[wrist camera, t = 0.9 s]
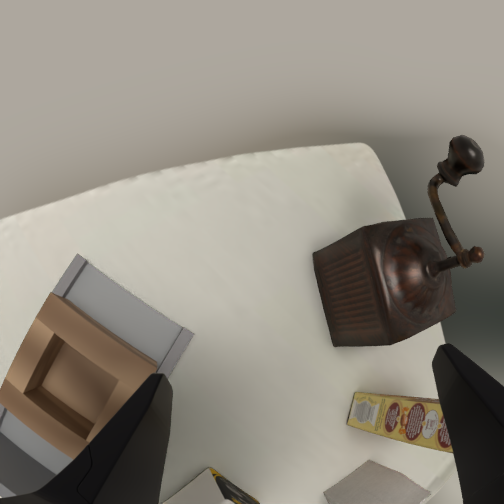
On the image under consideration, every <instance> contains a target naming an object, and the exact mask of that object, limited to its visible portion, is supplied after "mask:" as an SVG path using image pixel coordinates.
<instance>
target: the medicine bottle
mask: <svg viewBox="0 0 504 504" xmlns="http://www.w3.org/2000/svg"><path fill="white" fill-rule="evenodd" d="M162 504H260V503H259V502H258V501H257V500H256V499H254V498H253V497H251V496H250V495H248V494H247V493H245V492H244V491H242V490H241V489H239V488H238V487H237V486H235V485H234V484H232V483H231V482H230V481H228V480H227V479H226V478H224V477H223V476H221V475H220V474H219V473H218V472H216V471H215V470H214V469H212V468H207V469H206V470H205V471H204V472H202V473H201V474H200V475H199V476H198V477H196V478H195V479H194V480H193V481H191V482H190V483H189V484H188V485H186V486H185V487H184V488H182V489H181V490H180V491H178V492H177V493H176V494H175V495H173V496H172V497H171V498H169V499H168V500H166V501H165V502H164V503H162Z"/></svg>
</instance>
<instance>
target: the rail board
mask: <svg viewBox="0 0 504 504" xmlns="http://www.w3.org/2000/svg"><path fill="white" fill-rule="evenodd" d="M52 293H54V294H56V295H59V296H61V297H63V298H66V299H68V300H70V301H71V302H72V303H73V304H75V305H76V306H77V307H79V308H80V309H81V310H82V311H84V312H85V313H86V314H88V315H89V316H90V317H92V318H93V319H94V320H96V321H97V322H99V323H100V324H101V325H103V326H104V327H105V328H107V329H108V330H110V331H111V332H113V333H114V334H115V335H117V336H118V337H120V338H121V339H123V340H124V341H126V342H127V343H129V344H130V345H132V346H133V347H135V348H136V349H138V350H139V351H141V352H142V353H144V354H146V355H147V356H149V357H150V358H152V359H154V360H155V361H157V370H156V372H155V373H163V374H165V375H166V377H167V379H168V377H169V376H170V374H171V372H172V371H173V369H174V367H175V365H176V364H177V362H178V360H179V359H180V357H181V355H182V354H183V352H184V350H185V349H186V347H187V345H188V344H189V342H190V340H191V339H192V337H193V335H194V333H192V332H190V331H189V330H187V329H186V328H183V327H181V326H179V325H178V324H176V323H175V322H173V321H171V320H170V319H168V318H167V317H165V316H164V315H162V314H161V313H159V312H158V311H156V310H155V309H153V308H152V307H150V306H149V305H147V304H146V303H144V302H143V301H141V300H140V299H138V298H137V297H135V296H134V295H132V294H131V293H130V292H128V291H127V290H125V289H124V288H122V287H121V286H120V285H118V284H117V283H115V282H114V281H113V280H111V279H110V278H108V277H107V276H106V275H104V274H103V273H102V272H100V271H99V270H98V269H96V268H95V267H94V266H92V265H91V264H90V263H88V262H87V260H86V259H84V258H83V257H82V256H80V255H79V254H78V253H77V255H76V256H75V258H74V259H73V261H72V262H71V264H70V265H69V267H68V268H67V270H66V271H65V273H64V274H63V276H62V277H61V279H60V280H59V282H58V283H57V285H56V287H55V288H54V290H53V291H52ZM72 461H73V459H72V458H70V457H69V456H67V455H66V454H64V453H63V452H61V451H60V450H58V449H57V448H55V447H54V446H52V445H51V444H50V443H48V442H47V441H46V440H44V439H43V438H41V437H40V436H39V435H37V434H36V433H35V432H34V431H32V430H31V429H30V428H29V427H27V426H26V425H25V424H24V423H22V422H21V421H20V420H19V419H18V418H16V417H15V416H14V415H13V414H12V413H11V412H9V411H8V410H7V409H6V408H5V407H4V406H3V405H2V404H1V403H0V496H1V497H2V498H5V497H11V496H17V495H22V494H27V493H31V492H34V491H36V490H38V489H40V488H42V487H43V486H44V485H45V484H47V483H48V482H49V481H50V480H51V479H52V478H54V477H55V476H56V475H57V474H58V473H59V472H61V471H62V470H63V469H64V468H65V467H66V466H67V465H68V464H69V463H70V462H72Z"/></svg>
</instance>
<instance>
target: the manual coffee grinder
mask: <svg viewBox="0 0 504 504" xmlns="http://www.w3.org/2000/svg"><path fill="white" fill-rule="evenodd" d="M483 167H484V157H483V152H482V150H481V148H480V147H479V146H478V144H477V143H476V142H475V141H474V140H472V139H471V138H469V137H467V136H464V135H460V136H457V137H454V138H453V139H452V140H451V141H450V145H449V153H448V158H447V159H446V160H444V161H443V162H439V163H438V165H437V168H438V170H439V173H438V174H437V175H436V176H434V177H433V178H432V179H431V180H430V182H429V184H428V196H429V198H430V202H431V205H432V208H433V210H434V212H435V215H436V217H437V219H438V221H439V224H440V226H441V229H442V231H443V233H444V236H445V238H446V240H447V242H448V244H449V245H450V247H451V248H452V250H453V251H454V252H455V254H456V256H454V257H449V258H447V255H446V253H445V251H444V249H443V247H442V246H441V242H440V239H439V236H438V232H437V229H436V226H435V223H434V220H433V218H415V219H407V220H399V221H387V222H381V223H377V224H373V225H369V226H363V227H361V228H359V229H357V230H356V231H354V232H352V233H350V234H349V235H347V236H345V237H343V238H342V239H340V240H338V241H336V242H334V243H333V244H331V245H329V246H327V247H325V248H323V249H321V250H319V251H317V252H314V253H313V263H314V271H315V275H316V279H317V284H318V288H319V292H320V296H321V300H322V305H323V309H324V313H325V316H326V320H327V324H328V327H329V331H330V335H331V339H332V342H333V346H334V347H337V346H384V345H392V344H395V343H397V342H400V341H403V340H405V339H407V338H410V337H412V336H413V335H415V334H417V333H419V332H421V331H423V330H425V329H427V328H429V327H431V326H433V325H435V324H437V323H439V322H440V321H442V320H444V319H446V318H447V317H449V316H450V315H452V314H454V313H455V312H456V308H455V302H454V297H453V291H452V286H451V272H450V269H452V268H455V267H458V266H461V267H463V268H468V267H470V266H471V265H472V263H479V262H481V261H482V260H483V258H484V251H483V249H482V248H480V247H475V246H474V247H473V248H472V249H470V251H468V250H467V249H463V247H462V245H461V244H460V242H459V240H458V238H457V236H456V235H455V233H454V231H453V230H452V228H451V226H450V223H449V221H448V219H447V216H446V214H445V212H444V209H443V207H442V205H441V202H440V200H439V198H438V188H439V186H440V185H441V184H442V183H443V182H445V183H448V184H451V185H453V186H455V187H456V186H457V185H458V184H459V181H460V179H461V177H462V176H464V175H467V174H477V173H479V172H480V171H481V170H482V168H483Z"/></svg>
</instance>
